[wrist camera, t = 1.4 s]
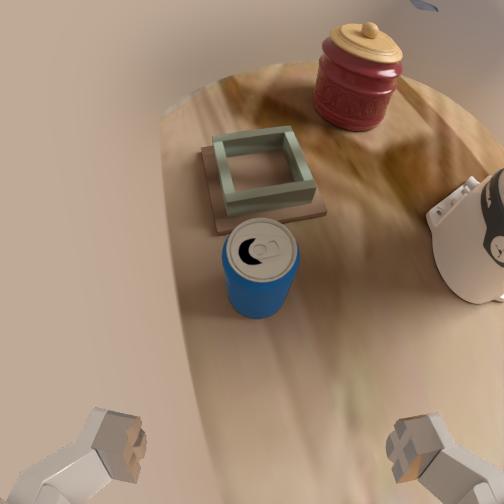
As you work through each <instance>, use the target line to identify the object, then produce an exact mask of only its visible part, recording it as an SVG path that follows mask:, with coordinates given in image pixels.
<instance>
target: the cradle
mask: <svg viewBox="0 0 504 504" xmlns="http://www.w3.org/2000/svg"><path fill="white" fill-rule="evenodd" d="M212 142H213V146H208V147H202V148H201V151H202V156H203V162H204V167H205V172H206V178H207V183H208V188H209V193H210V199H211V204H212V209H213V214H214V219H215V224H216V229H217V234H218V236H220V235H225V234H230V233H232V231H233V230H234V229H235V228H236V227H237V226H238V225H240V224H241V223H243V222H245V221H247V220H250V219H254V218H268V219H272V220H275V221H278V222H280V223H281V224H282V223H288V222H293V221H298V220H304V219H309V218H315V217H320V216H325V215H326V213H327V210H326V207H325V205H324V202H323V200H322V197H321V195H320V192H319V190H318V187H317V185H316V182H315V180H314V177H313V175H312V172H311V170H310V168H309V165H308V163H307V161H306V158H305V156H304V153H303V151H302V149H301V147H300V144H299V142H298V140H297V137H296V135H295V134H294V132H293V130H292V128H291V126H281V127H273V128H265V129H257V130H250V131H243V132H236V133H230V134H224V135H218V136H212Z"/></svg>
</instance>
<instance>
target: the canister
mask: <svg viewBox="0 0 504 504" xmlns="http://www.w3.org/2000/svg"><path fill="white" fill-rule="evenodd" d="M322 49H323V52H324V54H323V55H322V56H321V57H320V59H319V69H318V74H317V79H316V84H315V86H314V88H313V105H314V107H315V109H316V111H317V112H318V113H319V114H320V115H321V116H322V117H323V118H324V119H325V120H327V121H328V122H330V123H332V124H333V125H335V126H338V127H340V128H343V129H347V130H351V131H368V130H371V129H374V128H375V127H377V126H378V125H379V123H380V122H381V121H382V120H383V118H384V116H385V113H386V108H387V106H388V104H389V101H390V99H391V96H392V94H393V92H394V91H395V89H396V87H397V81H396V78H397V77H399V76H400V75H401V74H402V72H403V66H402V63H401V61H400V60H401V59H402V51H401V50H400V48H399V47H398V46H397V45H396V44H395V42H394V41H393V40H392V39H391V38H390V37H389V36H388V35H386V34H385V33H383V32H381V31H379V29H378V27H377V25H375V24H374V23H371V22H367V23H365V24H364V25H360V24H346V25H343V26H338V27H335V28H333V29H332V30H331V31H330V37H328V38H326V39H325V40H324V41H323V43H322Z"/></svg>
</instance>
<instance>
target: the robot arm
mask: <svg viewBox="0 0 504 504" xmlns="http://www.w3.org/2000/svg"><path fill="white" fill-rule="evenodd" d="M438 214H439V215H438ZM426 219H427V222H428V225H429V228H430V230H431V232H432V243H433V253H434V258H435V261H436V264H437V267H438V269H439V272H440V274H441V276H442V277H443V279H444V281H445V282H446V283H447V285H448V286H449V287H450V288H451V290H452V291H453V292H454V293H455V294H457V295H458V296H459V297H461V298H462V299H464V300H466V301H468V302H471V303H475V304H482V303H486V302H489V301H491V300H496V301H500V302H504V168H503V169H501V170H500V171H498V172H497V173H495V174H494V175H493V176H488V177H487V178H486V179H484V180H483V181H482V182H481V183H480V182H478V181H476V180H475V179H474V178H473V177H472V176H471V177H470V178H469V179H468V180H467V181H466V182H465V183H464V184H463V185H462V186H461V187H459V188H458V189H457V190H455V191H454V192H453V193H452V194H450V195H449V196H448V197H446V198H445V199H444V200H442V201H441V202H440V203H439V204H437V205H436V206H435V207H433V208H432V209H431V210H429V211H428V212H427V214H426ZM141 425H142V422H141V419H140V417H137V416H133V415H128V414H123V413H118V412H114V411H110V410H105V409H101V408H97V407H95V408H94V409H93V410H92V411H91V413H90V415H89V417H88V419H87V421H86V423H85V425H84V427H83V429H82V431H81V433H80V435H79V437H78V439H77V442H76V443H70V444H69V445H67V446H65V447H63V448H62V449H60V450H58V451H57V452H55V453H53V454H52V455H50V456H48V457H47V458H45V459H43V460H41V461H39V462H38V463H36V464H34V465H32V466H31V467H29V468H27V469H25V470H23V471H22V472H20V474H19V476H18V479H17V480H16V482H15V484H14V486H13V488H12V490H11V492H10V495H9V497H8V499H7V501H5V500H3V499H1V498H0V504H84V503H85V502H86V501H88V500H89V499H90V498H91V497H93V496H94V495H95V494H96V493H97V492H98V491H100V490H101V489H102V488H103V487H104V486H106V485H107V484H108V483H109V482H110V481H111V480H112V479H116V480H120V481H125V482H130V483H135V484H136V483H137V480H138V476H139V473H140V469H141V467H140V465H139V462H138V461H139V460H140V459H142V458H144V455H145V451H146V443H147V442H146V435H145V432H144V431H143V430H142V429H141ZM394 427H395V431H393V432H392V433H391V434H389V437H388V439H387V442H386V453H387V456H388V459H389V460H391V461H392V462H393V463H394V464H393V467H392V472H393V475H394V478H395V481H396V484H397V483H402V482H407V481H412V480H416V479H418V481H419V482H420V483H421V484H422V485H423V486H424V487H426V488H427V489H428V490H429V491H430V492H431V493H432V494H433V495H434V496H436V497H437V498H438V499H439V500H440V501H441V502H442V503H443V504H504V471H502V470H501V469H499V468H497V467H496V466H494V465H492V464H491V463H489V462H487V461H486V460H484V459H483V458H481V457H479V456H478V455H476V454H474V453H473V452H471V451H470V450H468V449H466V448H465V447H463V446H462V445H456V443H455V441H454V439H453V437H452V435H451V433H450V431H449V429H448V428H447V426H446V424H445V422H444V420H443V418H442V416H441V415H440V414H439V413H438V412H436V413H431V414H426V415H419V416H413V417H408V418H402V419H399V420H398V421H396V423H395V425H394Z"/></svg>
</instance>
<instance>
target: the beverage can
mask: <svg viewBox="0 0 504 504" xmlns="http://www.w3.org/2000/svg"><path fill="white" fill-rule="evenodd" d="M222 261H223V267H224V273H225V279H226V285H227V291H228V297H229V300H230V302H231V304H232V306H233V307H234V309H235V310H236V311H237V312H239V313H240V314H241V315H243V316H245V317H248V318H252V319H262V318H266V317H269V316H271V315H273V314H274V313H276V312H277V311H278V310H279V309H280V307H281V306H282V304H283V302H284V300H285V298H286V296H287V293H288V291H289V288H290V286H291V284H292V281H293V279H294V277H295V274H296V272H297V269H298V266H299V261H300V254H299V248H298V245H297V243H296V241H295V239H294V236H293V235H292V233H291V232H290V230H289V229H288V228H287V227H285V226H284V225H283V224H281V223H280V222H278V221H275V220H272V219H268V218H254V219H250V220H247V221H245V222H243V223H241V224H240V225H238V226H237V227H236V228H235V229H234V230H233V231H232V233H231V234H230V235H229V236H228V238H227V239H226V242H225V244H224V247H223V251H222Z"/></svg>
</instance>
